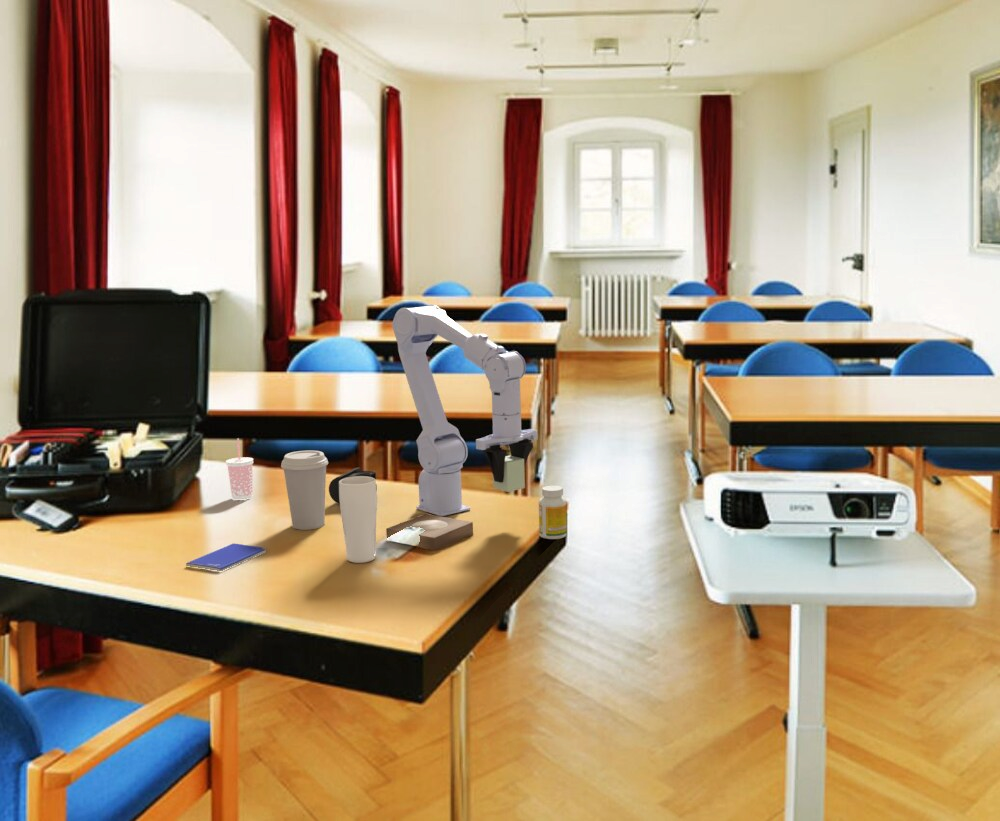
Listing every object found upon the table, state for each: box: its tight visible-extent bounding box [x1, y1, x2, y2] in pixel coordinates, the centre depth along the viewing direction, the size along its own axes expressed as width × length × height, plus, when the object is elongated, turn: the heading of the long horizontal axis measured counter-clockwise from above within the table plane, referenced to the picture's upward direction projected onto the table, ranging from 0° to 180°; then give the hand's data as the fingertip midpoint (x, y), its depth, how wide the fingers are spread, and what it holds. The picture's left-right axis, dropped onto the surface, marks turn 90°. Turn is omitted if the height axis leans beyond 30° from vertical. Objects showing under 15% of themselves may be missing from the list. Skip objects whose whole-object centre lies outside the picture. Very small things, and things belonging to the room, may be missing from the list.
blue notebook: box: [185, 543, 266, 571], centre depth 190 cm, size 2×8×12 cm
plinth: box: [385, 513, 474, 551], centre depth 199 cm, size 12×12×2 cm
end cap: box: [328, 467, 378, 506], centre depth 228 cm, size 10×7×7 cm
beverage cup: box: [225, 437, 254, 499], centre depth 233 cm, size 6×6×14 cm
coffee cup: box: [280, 450, 329, 531], centre depth 209 cm, size 10×10×15 cm
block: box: [492, 455, 526, 493], centre depth 205 cm, size 4×4×6 cm
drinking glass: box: [339, 476, 378, 564], centre depth 186 cm, size 7×7×15 cm
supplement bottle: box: [538, 485, 568, 540], centre depth 198 cm, size 5×5×10 cm
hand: (508, 479), depth 205 cm, fingers closed on block, 4 cm apart
